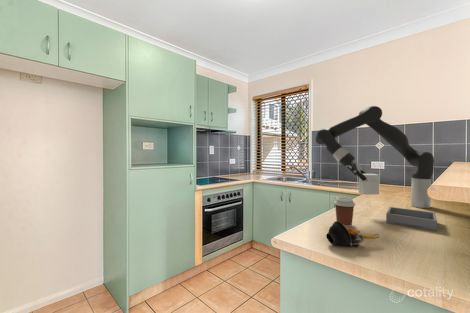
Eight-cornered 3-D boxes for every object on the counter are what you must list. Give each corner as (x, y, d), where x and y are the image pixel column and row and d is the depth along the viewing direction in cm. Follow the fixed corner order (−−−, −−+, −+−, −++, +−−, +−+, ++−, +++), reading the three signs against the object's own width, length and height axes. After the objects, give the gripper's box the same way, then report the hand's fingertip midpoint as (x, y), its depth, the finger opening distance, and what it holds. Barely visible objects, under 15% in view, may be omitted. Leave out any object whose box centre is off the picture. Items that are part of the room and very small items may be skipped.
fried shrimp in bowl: (318, 228, 88) (355, 210, 91) (332, 256, 84) (370, 236, 88) (329, 226, 79) (370, 207, 83) (346, 258, 76) (387, 236, 80)
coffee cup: (358, 228, 100) (358, 201, 99) (336, 227, 101) (336, 200, 101) (351, 222, 109) (352, 197, 108) (331, 220, 110) (331, 196, 110)
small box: (373, 192, 122) (373, 173, 122) (379, 194, 117) (379, 174, 116) (358, 192, 123) (358, 173, 123) (363, 194, 117) (363, 174, 117)
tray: (389, 215, 120) (389, 206, 119) (434, 221, 108) (434, 212, 108) (386, 222, 107) (386, 213, 107) (436, 231, 96) (437, 220, 96)
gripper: (345, 152, 119) (370, 175, 112) (351, 152, 130) (374, 173, 123) (334, 162, 123) (358, 185, 116) (341, 160, 134) (363, 182, 127)
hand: (366, 179), depth 120 cm, fingers closed on small box, 8 cm apart
